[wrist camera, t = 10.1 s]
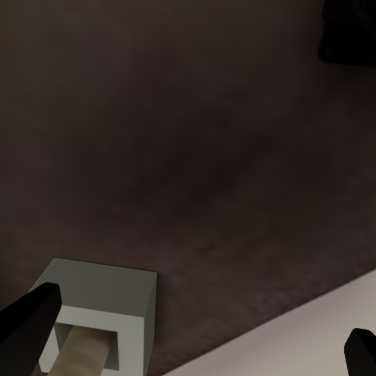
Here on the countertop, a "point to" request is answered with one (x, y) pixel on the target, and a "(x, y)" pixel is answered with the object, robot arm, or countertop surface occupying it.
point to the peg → (83, 352)
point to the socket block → (104, 311)
